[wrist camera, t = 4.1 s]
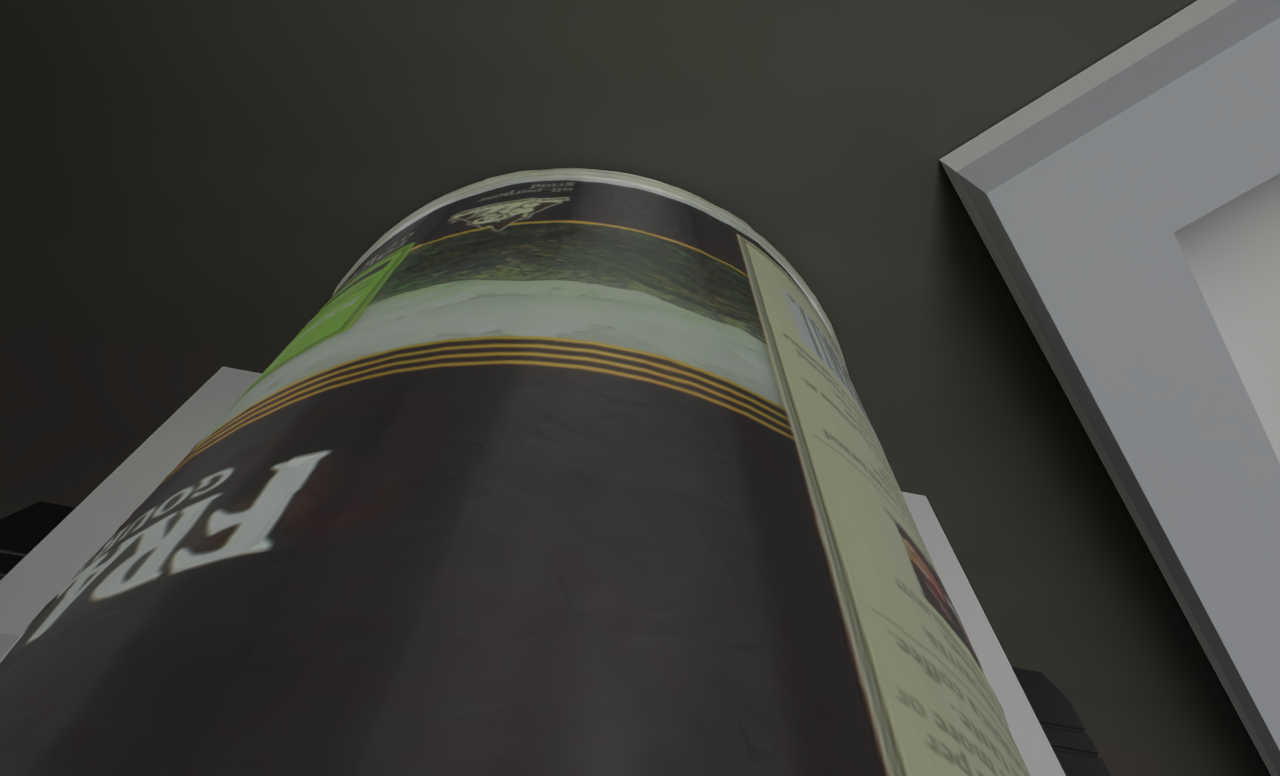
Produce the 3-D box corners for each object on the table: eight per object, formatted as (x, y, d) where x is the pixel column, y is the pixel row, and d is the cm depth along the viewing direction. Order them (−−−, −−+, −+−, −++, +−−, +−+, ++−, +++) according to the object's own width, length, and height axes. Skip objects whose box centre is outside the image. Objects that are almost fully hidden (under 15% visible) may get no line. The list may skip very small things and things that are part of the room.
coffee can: (207, 489, 19) (-736, 1626, 6) (500, 34, 16) (-243, 432, 3) (636, 738, 21) (612, 1933, 8) (972, 391, 18) (1788, 1511, 5)
